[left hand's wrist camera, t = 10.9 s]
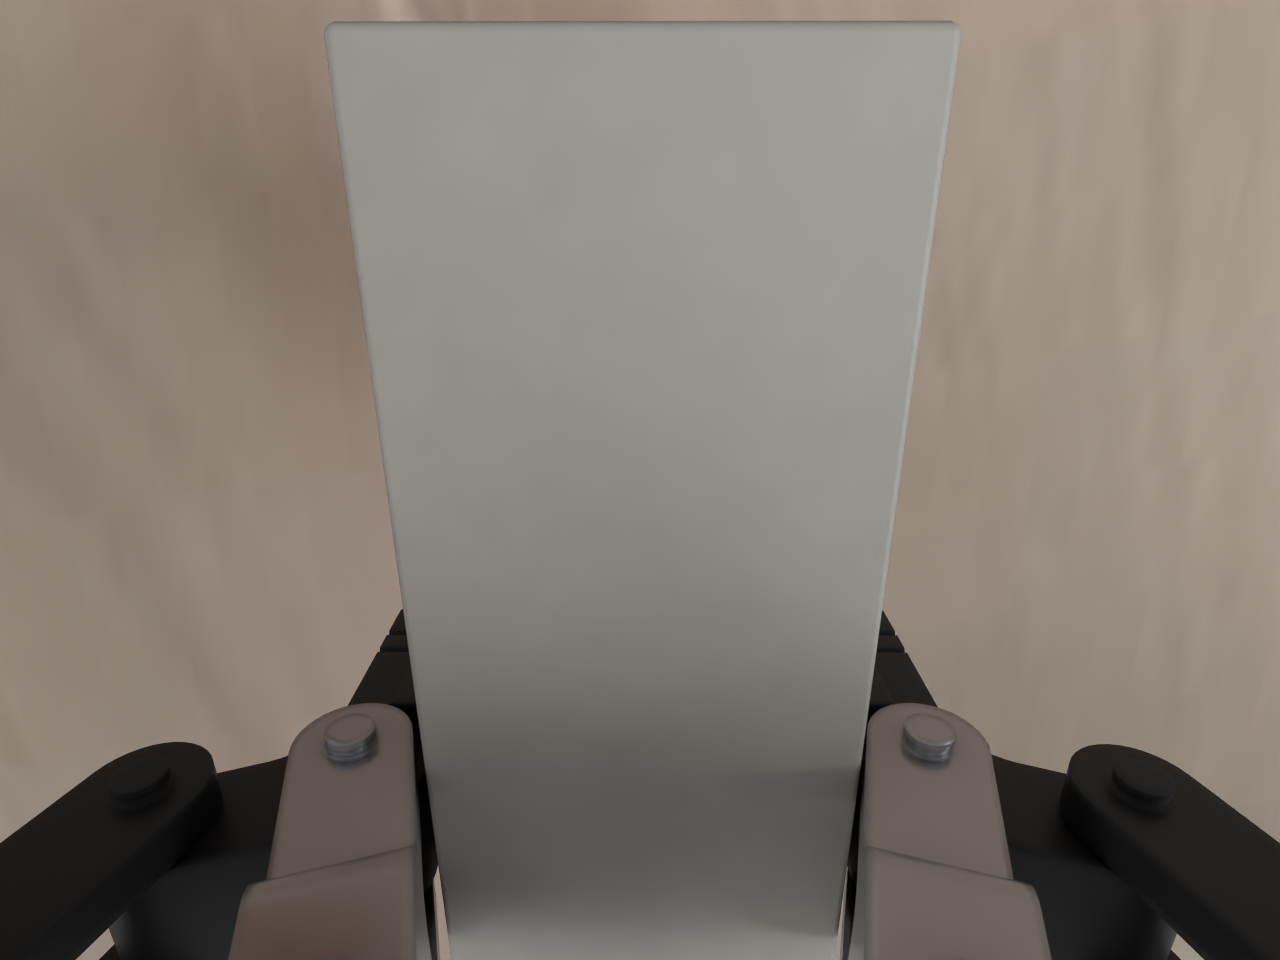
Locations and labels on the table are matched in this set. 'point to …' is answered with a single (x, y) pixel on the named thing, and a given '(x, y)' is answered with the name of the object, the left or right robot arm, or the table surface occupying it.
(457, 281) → the bar
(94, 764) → the table surface
